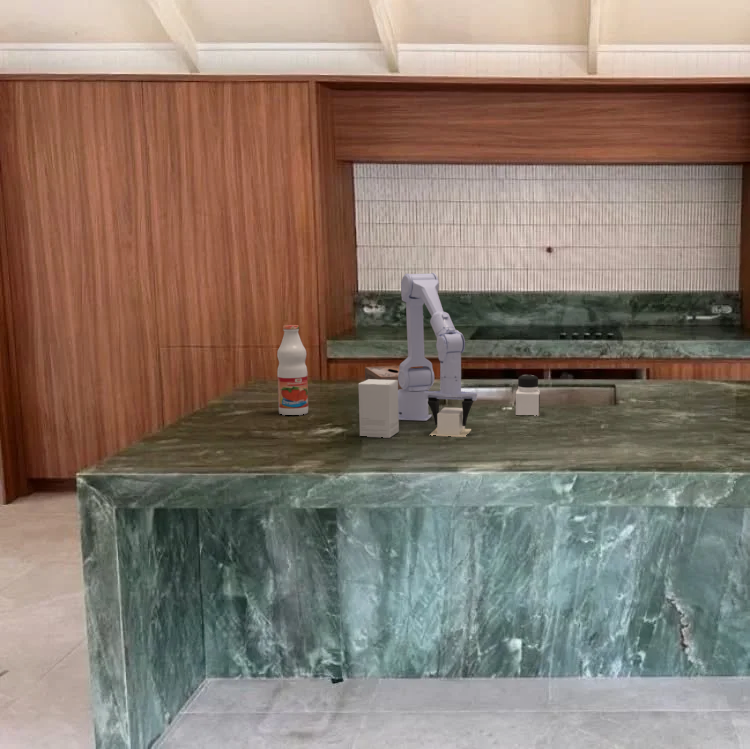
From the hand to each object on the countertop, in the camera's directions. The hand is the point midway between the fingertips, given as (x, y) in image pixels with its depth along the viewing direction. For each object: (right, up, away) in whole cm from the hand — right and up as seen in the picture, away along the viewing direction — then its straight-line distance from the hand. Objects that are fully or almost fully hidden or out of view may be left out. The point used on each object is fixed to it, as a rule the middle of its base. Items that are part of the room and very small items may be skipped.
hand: (450, 424), depth 237 cm
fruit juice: (-47, +1, +32) cm, 57 cm away
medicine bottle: (+26, +2, +26) cm, 37 cm away
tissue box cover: (-15, +5, +57) cm, 59 cm away
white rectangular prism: (0, -2, +1) cm, 2 cm away
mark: (0, -2, 0) cm, 2 cm away
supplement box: (-20, -3, 0) cm, 20 cm away
